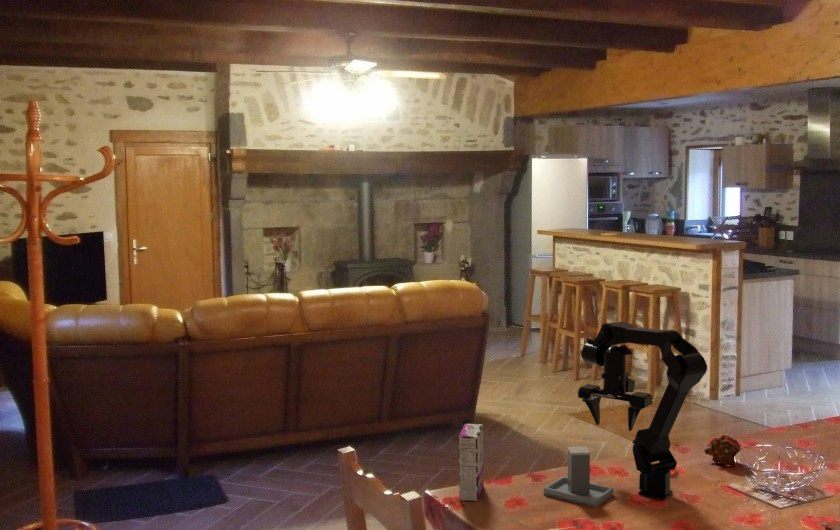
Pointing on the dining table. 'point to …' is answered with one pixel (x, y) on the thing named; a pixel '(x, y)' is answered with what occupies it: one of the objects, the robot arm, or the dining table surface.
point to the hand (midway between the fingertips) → (614, 427)
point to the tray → (561, 491)
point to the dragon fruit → (723, 450)
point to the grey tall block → (579, 471)
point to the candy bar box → (471, 462)
